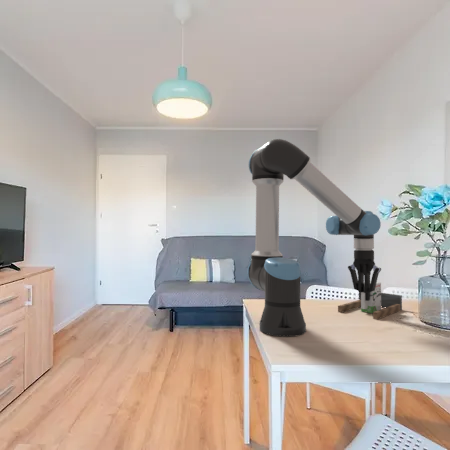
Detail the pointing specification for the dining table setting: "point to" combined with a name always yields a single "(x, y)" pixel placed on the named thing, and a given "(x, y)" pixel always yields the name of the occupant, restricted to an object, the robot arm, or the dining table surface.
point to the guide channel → (387, 300)
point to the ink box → (374, 299)
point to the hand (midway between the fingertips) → (364, 308)
